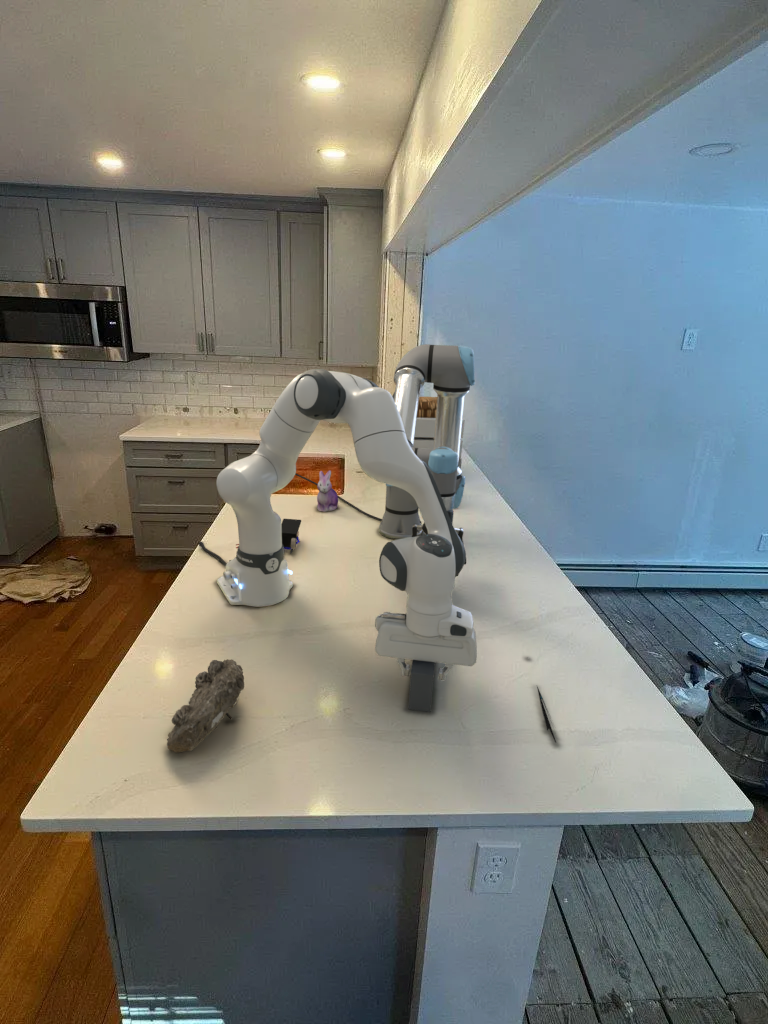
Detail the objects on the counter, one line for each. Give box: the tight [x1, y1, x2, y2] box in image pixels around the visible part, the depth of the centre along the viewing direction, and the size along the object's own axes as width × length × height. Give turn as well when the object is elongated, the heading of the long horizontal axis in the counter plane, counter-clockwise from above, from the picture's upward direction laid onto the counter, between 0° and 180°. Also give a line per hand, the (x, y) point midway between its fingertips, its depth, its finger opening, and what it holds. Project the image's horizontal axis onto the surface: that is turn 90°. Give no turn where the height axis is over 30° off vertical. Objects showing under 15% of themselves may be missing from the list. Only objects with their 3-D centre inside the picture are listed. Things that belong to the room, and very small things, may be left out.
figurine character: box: [281, 518, 302, 554], centre depth 184 cm, size 7×8×15 cm
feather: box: [527, 657, 557, 743], centre depth 118 cm, size 2×28×2 cm
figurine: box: [316, 469, 339, 512], centre depth 219 cm, size 9×10×15 cm
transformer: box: [392, 391, 465, 470], centre depth 268 cm, size 34×33×41 cm
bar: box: [407, 660, 436, 713], centre depth 136 cm, size 55×4×9 cm, turn 173°
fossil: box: [166, 658, 245, 754], centre depth 106 cm, size 22×10×15 cm
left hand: (423, 676), depth 115 cm, fingers open, 6 cm apart
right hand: (433, 583), depth 158 cm, fingers open, 9 cm apart
